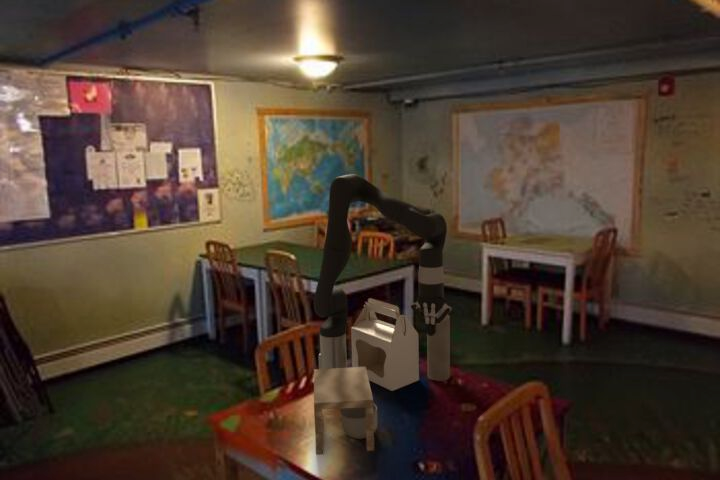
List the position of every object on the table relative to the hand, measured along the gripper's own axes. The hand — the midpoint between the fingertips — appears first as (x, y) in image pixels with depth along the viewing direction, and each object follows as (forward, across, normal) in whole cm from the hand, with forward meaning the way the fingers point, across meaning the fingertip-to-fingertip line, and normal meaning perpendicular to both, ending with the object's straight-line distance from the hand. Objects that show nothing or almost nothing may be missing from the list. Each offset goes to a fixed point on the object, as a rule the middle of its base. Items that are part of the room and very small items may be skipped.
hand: (431, 334), depth 171 cm
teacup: (+25, -16, -20) cm, 36 cm away
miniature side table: (+25, -20, -22) cm, 39 cm away
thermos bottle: (+25, -6, +26) cm, 37 cm away
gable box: (+25, -24, +19) cm, 40 cm away
